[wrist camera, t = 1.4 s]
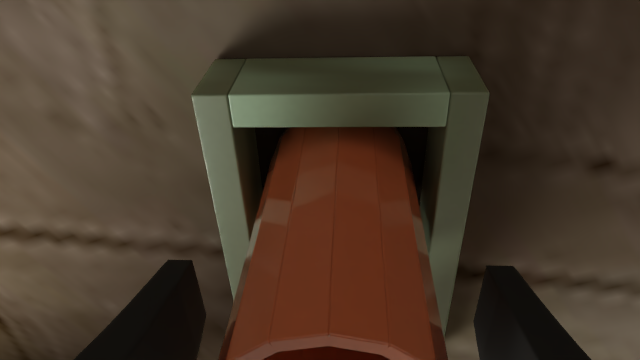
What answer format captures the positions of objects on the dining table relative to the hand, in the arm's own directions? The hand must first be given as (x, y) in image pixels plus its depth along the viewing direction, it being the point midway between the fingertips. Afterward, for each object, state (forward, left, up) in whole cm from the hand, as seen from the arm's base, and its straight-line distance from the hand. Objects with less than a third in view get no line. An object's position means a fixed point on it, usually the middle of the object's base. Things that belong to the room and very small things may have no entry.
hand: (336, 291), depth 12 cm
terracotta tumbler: (0, 0, -6) cm, 6 cm away
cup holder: (0, -3, -6) cm, 7 cm away
